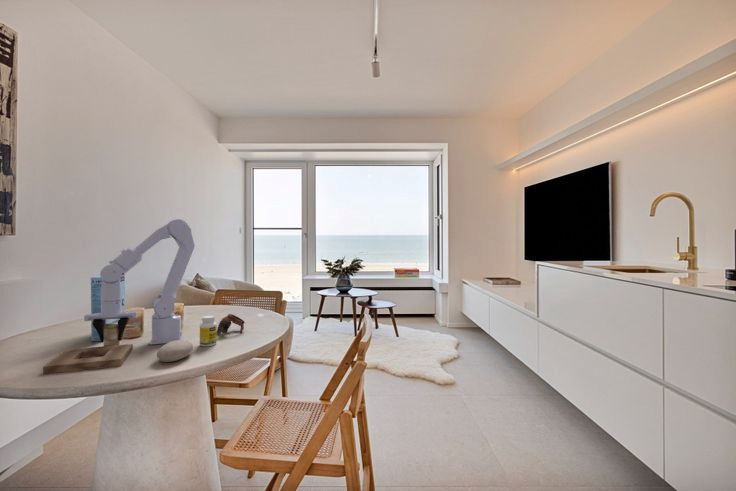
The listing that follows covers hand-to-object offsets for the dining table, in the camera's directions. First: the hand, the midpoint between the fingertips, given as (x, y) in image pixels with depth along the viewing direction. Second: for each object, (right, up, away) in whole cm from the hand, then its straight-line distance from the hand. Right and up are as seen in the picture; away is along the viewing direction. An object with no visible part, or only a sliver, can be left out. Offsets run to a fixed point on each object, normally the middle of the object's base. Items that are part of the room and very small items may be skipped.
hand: (111, 340), depth 123 cm
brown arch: (+32, -3, +20) cm, 38 cm away
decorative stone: (+27, -3, -10) cm, 28 cm away
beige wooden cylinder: (0, -2, 0) cm, 2 cm away
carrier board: (+3, -3, -13) cm, 13 cm away
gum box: (-12, -2, +17) cm, 21 cm away
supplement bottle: (+30, -3, +5) cm, 31 cm away
